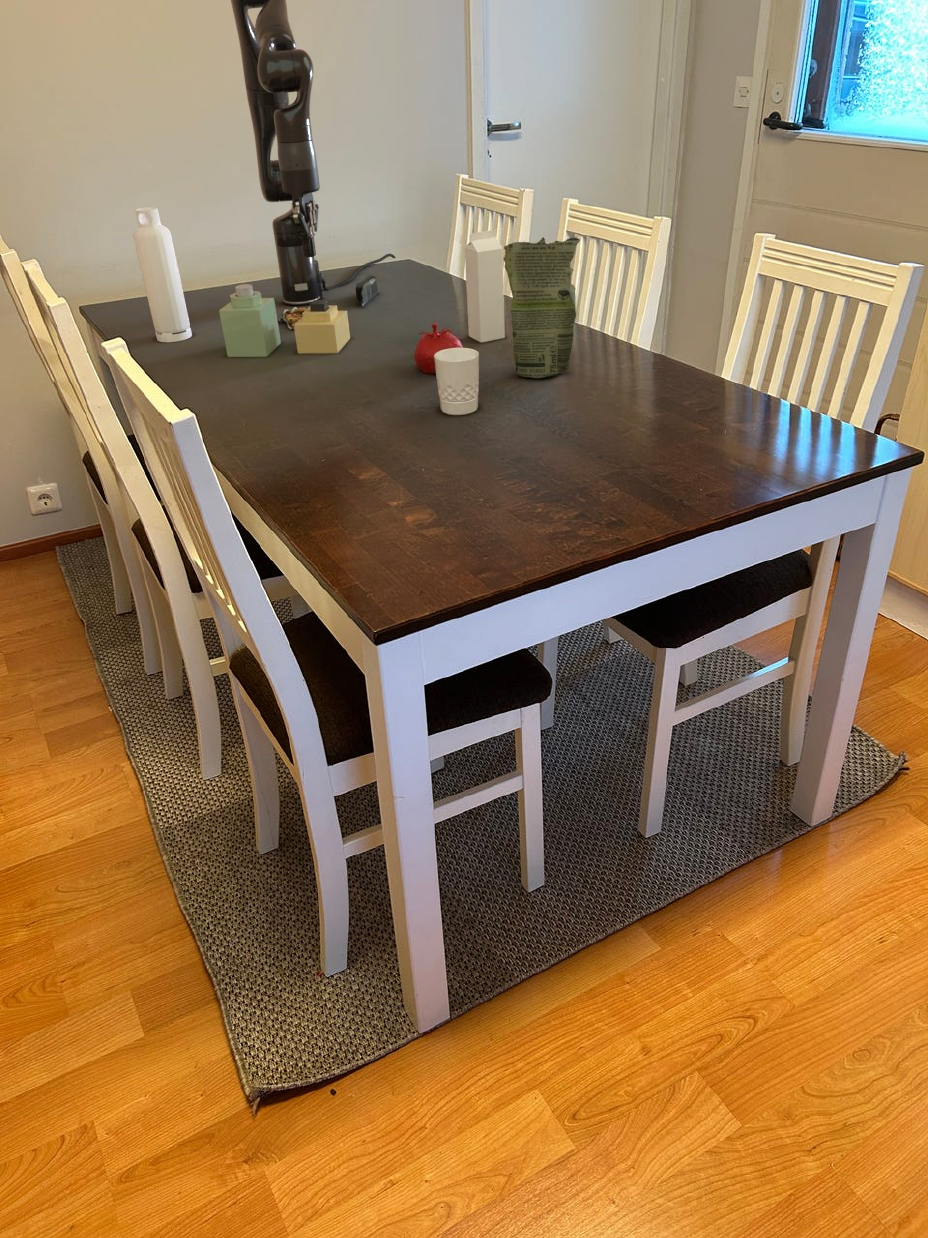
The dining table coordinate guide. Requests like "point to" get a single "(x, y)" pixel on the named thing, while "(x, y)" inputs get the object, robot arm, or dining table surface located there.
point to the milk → (485, 287)
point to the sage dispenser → (250, 326)
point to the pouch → (541, 305)
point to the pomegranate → (433, 348)
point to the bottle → (161, 277)
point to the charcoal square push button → (319, 306)
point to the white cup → (457, 380)
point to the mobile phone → (366, 290)
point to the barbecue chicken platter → (292, 316)
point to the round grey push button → (244, 290)
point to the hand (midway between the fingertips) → (310, 256)
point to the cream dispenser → (322, 331)
